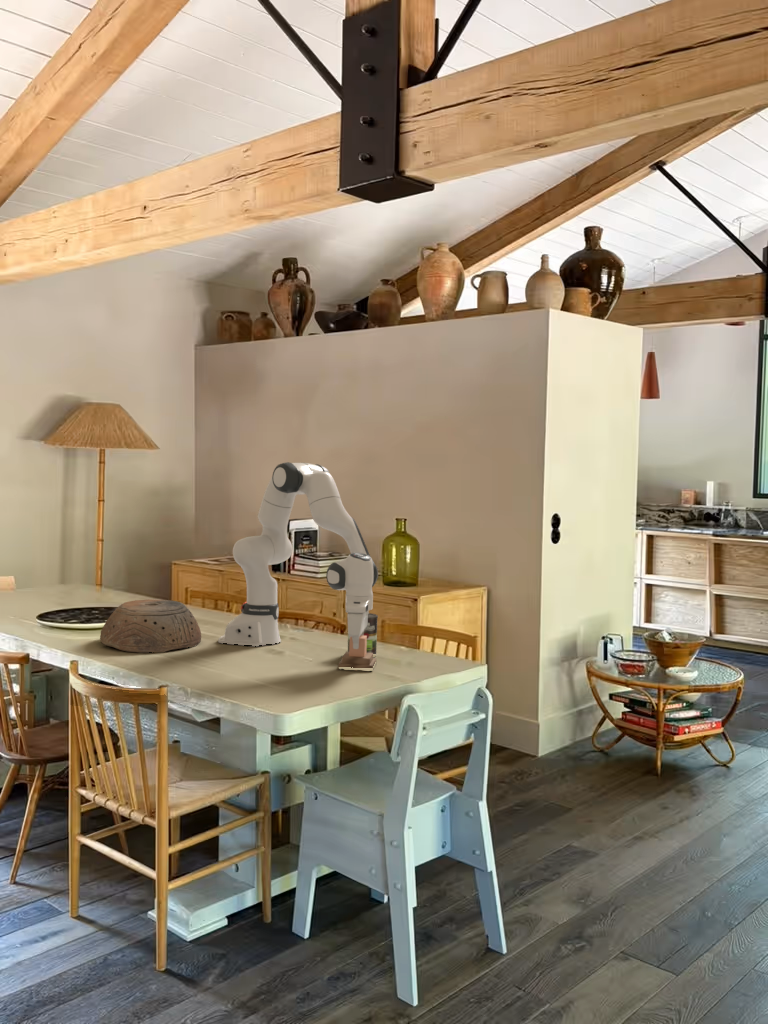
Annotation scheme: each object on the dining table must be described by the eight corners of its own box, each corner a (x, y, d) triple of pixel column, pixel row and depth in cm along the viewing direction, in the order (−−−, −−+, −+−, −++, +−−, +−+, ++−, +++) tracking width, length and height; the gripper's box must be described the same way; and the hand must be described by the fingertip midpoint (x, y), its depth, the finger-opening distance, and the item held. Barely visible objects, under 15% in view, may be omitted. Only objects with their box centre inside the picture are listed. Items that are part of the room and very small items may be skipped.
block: (349, 656, 299) (349, 637, 298) (351, 652, 304) (351, 634, 303) (364, 656, 298) (364, 638, 298) (366, 653, 303) (366, 635, 303)
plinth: (338, 670, 296) (338, 657, 296) (343, 662, 307) (343, 650, 307) (372, 671, 295) (372, 659, 295) (376, 664, 306) (376, 652, 306)
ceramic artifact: (86, 654, 312) (86, 610, 311) (113, 635, 348) (113, 596, 347) (192, 654, 313) (191, 610, 312) (208, 635, 349) (208, 595, 348)
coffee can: (380, 658, 316) (381, 617, 315) (350, 659, 313) (351, 617, 312) (372, 651, 326) (373, 612, 325) (344, 652, 323) (345, 612, 322)
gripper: (354, 598, 311) (353, 638, 311) (344, 608, 290) (343, 651, 291) (372, 599, 310) (371, 639, 311) (364, 608, 290) (363, 652, 291)
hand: (358, 645), depth 301 cm, fingers open, 8 cm apart
